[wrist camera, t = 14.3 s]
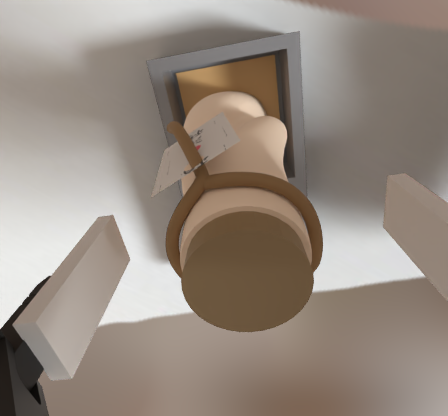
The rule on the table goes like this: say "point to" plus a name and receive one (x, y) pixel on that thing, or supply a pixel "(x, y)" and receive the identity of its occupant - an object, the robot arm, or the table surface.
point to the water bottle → (238, 216)
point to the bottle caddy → (239, 88)
